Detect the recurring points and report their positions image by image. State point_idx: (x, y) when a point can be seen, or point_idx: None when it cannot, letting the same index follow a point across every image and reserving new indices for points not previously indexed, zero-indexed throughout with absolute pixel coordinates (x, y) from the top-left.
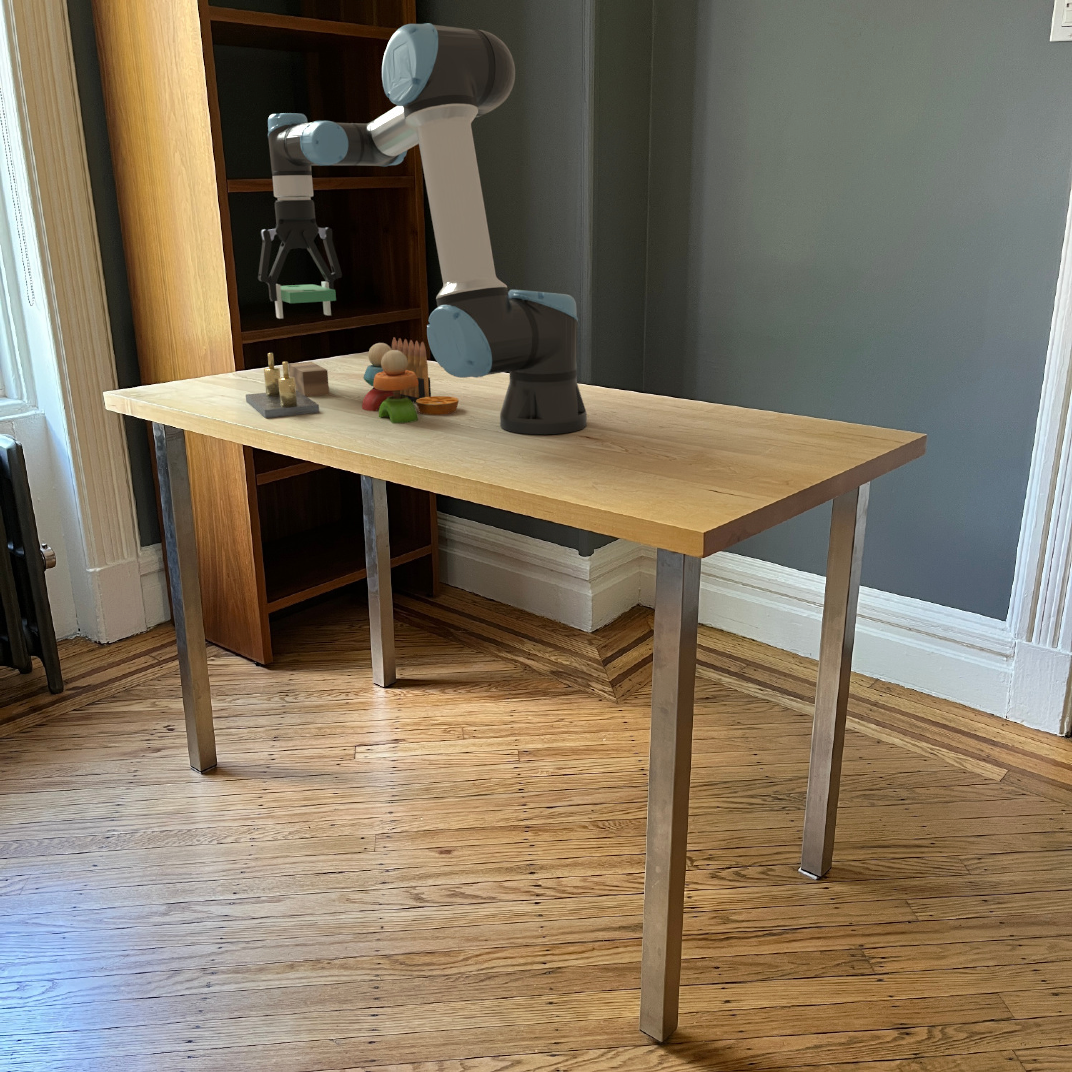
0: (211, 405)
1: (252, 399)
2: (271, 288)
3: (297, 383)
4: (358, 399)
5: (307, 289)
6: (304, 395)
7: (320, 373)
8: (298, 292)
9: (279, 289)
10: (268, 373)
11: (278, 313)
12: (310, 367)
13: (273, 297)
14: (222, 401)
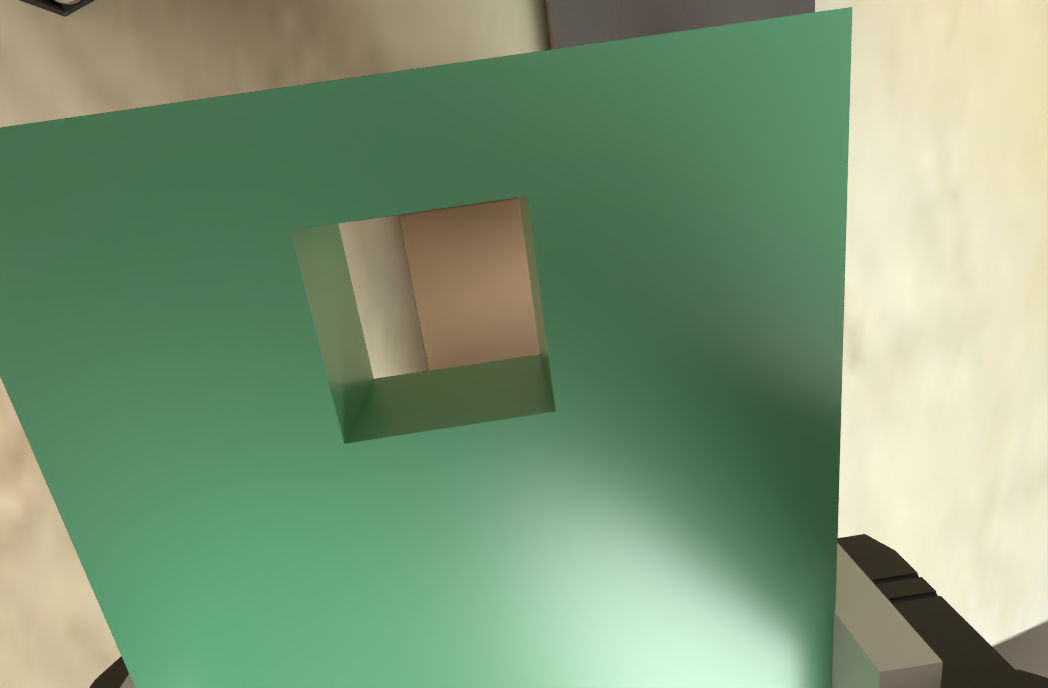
0: (946, 142)
1: (811, 4)
2: (974, 645)
3: None
4: (279, 21)
5: (445, 523)
6: (552, 13)
7: (440, 209)
8: (669, 39)
9: (857, 616)
10: None
11: None
12: (482, 338)
13: (874, 564)
14: (883, 221)
